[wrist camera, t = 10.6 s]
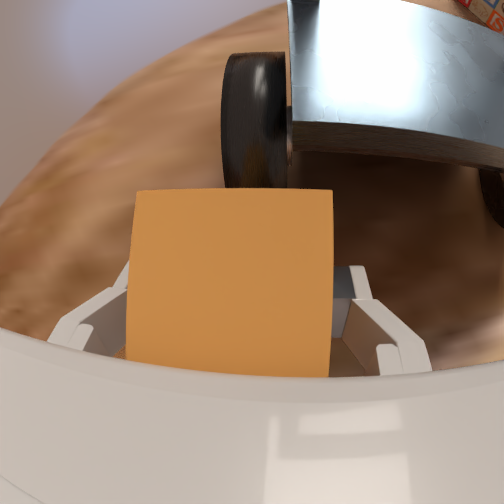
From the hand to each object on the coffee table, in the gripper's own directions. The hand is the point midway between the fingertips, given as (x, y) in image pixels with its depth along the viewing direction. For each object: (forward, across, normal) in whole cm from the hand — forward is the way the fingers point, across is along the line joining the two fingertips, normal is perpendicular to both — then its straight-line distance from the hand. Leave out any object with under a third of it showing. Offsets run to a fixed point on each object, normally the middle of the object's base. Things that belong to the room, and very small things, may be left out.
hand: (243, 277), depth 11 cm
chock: (+3, 0, +4) cm, 5 cm away
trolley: (+11, -9, 0) cm, 14 cm away
